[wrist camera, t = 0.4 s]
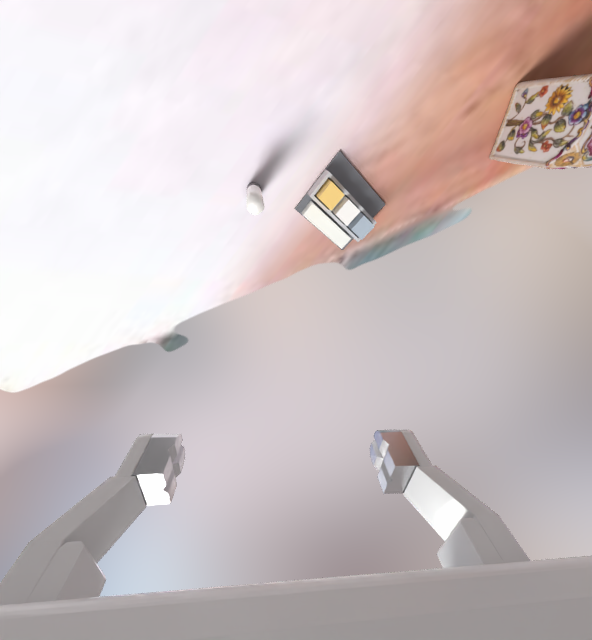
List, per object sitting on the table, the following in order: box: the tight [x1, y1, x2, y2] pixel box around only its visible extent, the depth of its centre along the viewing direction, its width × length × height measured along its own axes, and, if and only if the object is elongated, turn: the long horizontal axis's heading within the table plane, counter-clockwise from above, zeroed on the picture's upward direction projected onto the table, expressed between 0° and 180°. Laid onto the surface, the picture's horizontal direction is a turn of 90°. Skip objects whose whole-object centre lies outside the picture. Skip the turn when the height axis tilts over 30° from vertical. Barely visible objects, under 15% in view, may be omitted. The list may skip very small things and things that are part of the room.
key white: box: [332, 196, 360, 226], centre depth 50 cm, size 4×4×3 cm
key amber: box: [315, 179, 344, 211], centre depth 47 cm, size 4×4×3 cm
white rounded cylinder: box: [247, 183, 264, 215], centre depth 44 cm, size 3×3×11 cm
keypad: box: [295, 151, 385, 250], centre depth 51 cm, size 13×15×3 cm
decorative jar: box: [489, 73, 592, 169], centre depth 41 cm, size 12×12×18 cm
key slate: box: [348, 212, 375, 240], centre depth 52 cm, size 4×4×3 cm
